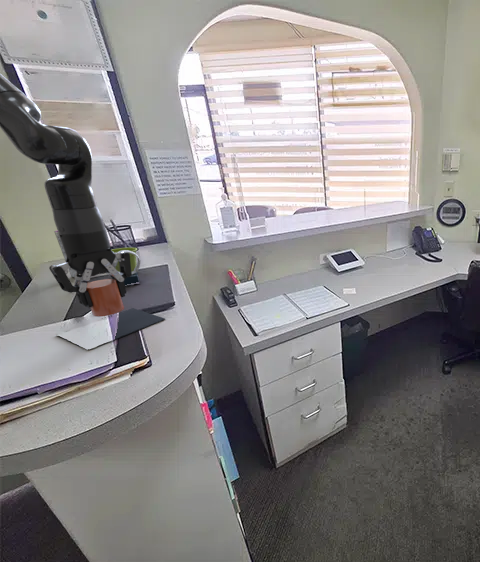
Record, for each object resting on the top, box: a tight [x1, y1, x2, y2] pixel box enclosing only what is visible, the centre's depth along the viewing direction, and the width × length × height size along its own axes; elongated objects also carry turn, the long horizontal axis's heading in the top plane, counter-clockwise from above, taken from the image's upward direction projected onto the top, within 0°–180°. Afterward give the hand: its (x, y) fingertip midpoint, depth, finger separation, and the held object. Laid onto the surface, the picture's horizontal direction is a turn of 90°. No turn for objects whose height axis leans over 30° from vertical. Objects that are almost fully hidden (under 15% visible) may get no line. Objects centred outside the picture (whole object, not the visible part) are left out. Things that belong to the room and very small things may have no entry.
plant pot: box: [111, 247, 138, 272], centre depth 109 cm, size 9×9×9 cm
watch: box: [112, 250, 141, 285], centre depth 100 cm, size 6×8×11 cm
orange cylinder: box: [86, 278, 125, 318], centre depth 71 cm, size 6×6×7 cm
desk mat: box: [114, 307, 166, 341], centre depth 74 cm, size 16×14×1 cm
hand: (105, 301), depth 72 cm, fingers closed on orange cylinder, 6 cm apart
